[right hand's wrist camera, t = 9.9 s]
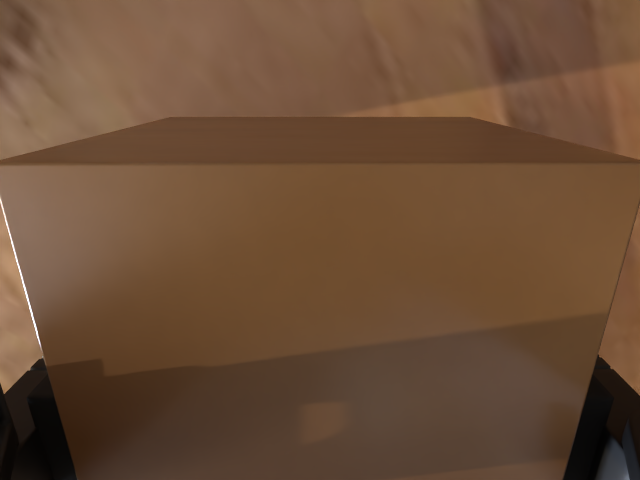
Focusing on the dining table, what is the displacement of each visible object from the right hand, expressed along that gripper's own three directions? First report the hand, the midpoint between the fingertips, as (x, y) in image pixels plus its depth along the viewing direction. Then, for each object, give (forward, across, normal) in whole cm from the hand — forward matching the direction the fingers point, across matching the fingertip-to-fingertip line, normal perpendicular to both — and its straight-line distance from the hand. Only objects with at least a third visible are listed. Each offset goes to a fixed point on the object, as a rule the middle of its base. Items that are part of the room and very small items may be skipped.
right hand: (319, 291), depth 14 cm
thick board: (0, 0, -34) cm, 34 cm away
